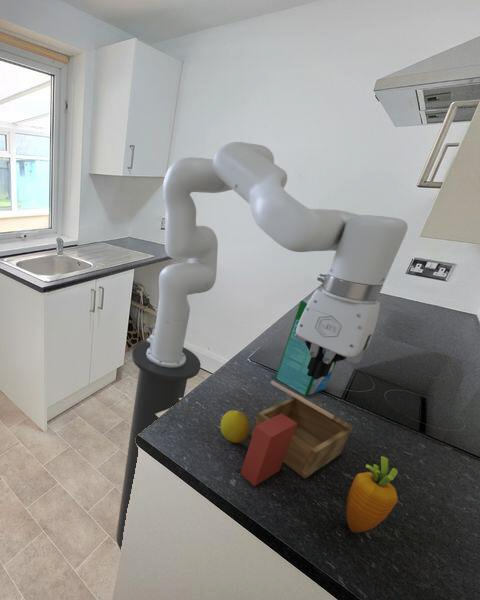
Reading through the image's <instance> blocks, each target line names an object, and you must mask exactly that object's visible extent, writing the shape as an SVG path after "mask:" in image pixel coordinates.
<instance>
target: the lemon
mask: <svg viewBox="0 0 480 600" xmlns="http://www.w3.org/2000/svg"><path fill="white" fill-rule="evenodd" d="M219 425H220V427H219V429H220V431H221V432H220V433H221V434H222V436H223V437H224V438H225V439H226V440H227V441H229V442H230V443H234V444H238V443H241V442H243V441H245V440H246V439H247V437H248V436H249V434H250V422H249V419H248V417H247V416H246V415H245V414H244V412H241V411H239V410H228V411H227V412H226V413H225V414H223V416H222V418H221V419H220V424H219Z"/></svg>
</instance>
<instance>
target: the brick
mask: <svg viewBox="0 0 480 600" xmlns="http://www.w3.org/2000/svg"><path fill="white" fill-rule="evenodd" d="M296 426H297V423H296V422H295V421H293V420H292V419H290V418H288V417H287V416H285V415H284V414H282V413H281V414H279V415H277V416H275V417H273V418H271V419H269V420H266V421H264V422H262V423H260V424H258V425H256V426H255V429H254V432H253V436H252V438H251V439H250V441H249V445H248V449H247V451H246V454H245V458H244V461H243V464H242V466H241V470H240V473H239V474H240V475H241V476H242V477H243V478H245V479H246V481H248V482H249V483H250V484H251V485H252V487H257V485H259V484H260V483H262V482H263V481H265V480H267V479H268V478H270V477H272V476H273V475H275V474H277V473H279V472H280V470H281V468H282V466H283V464H284V462H283V460H284V458H285V455H286V452H287V450H288V447H289V444H290V442H291V439H292V436H293V434H294V431H295V429H296Z"/></svg>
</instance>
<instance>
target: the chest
mask: <svg viewBox="0 0 480 600" xmlns="http://www.w3.org/2000/svg"><path fill="white" fill-rule="evenodd" d="M281 413H282V414H284V415H285V416H287V417H288V418H290V419H292V420H293V421H295V422H296V423H297V426H296V429H295V431H294V434H293V436H292V439H291V442H290V444H289V447H288V450H287V452H286V455H285V458H284V460H283V464H285V465H286V466H288V467H289V468H290V469H291V470H293V471H294V472H296V474H298V475H299V476H300V477H302V478H303V479H307V478H308V477H309V476H311V475H312V474H314V473H315V472H317V471H318V470H320V469H321V468H322V467H324V466H326V465H327V464H329V463H330V462H332V461H333V460H334V459H336V458H337V457H339V456H340V455H341V454H342V452H343V449H344V447H345V445H346V443H347V441H348V439H349V436H350V434H351V433H352V429H349V428H347V427H345V426H343V425H342V424H340V423H338V422H336V421H334V420H332V419H330V418H329V417H327V416H325V415H324V414H322V413H320V412H318V411H317V410H315V409H313V408H312V407H310V406H308V405H306V404H305V403H303V402H301V401H299V400H298V399H296V398H294V397H293V396H291V397H290V398H288V399H286V400H283V401H281V402H279V403H277V404H274V405H273V406H270V407H268V408H267V409H264V410H262V411H260V412H258V413H257V415H256V418H255V421H254V424H253V429H252V430H251V431H252V432H251V434H250V438H251V439H252V436H253V432H254V429H255V426H256V425H258V424H260V423H262V422H264V421H266V420H269V419H271V418H273V417H275V416H277V415H279V414H281Z"/></svg>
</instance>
